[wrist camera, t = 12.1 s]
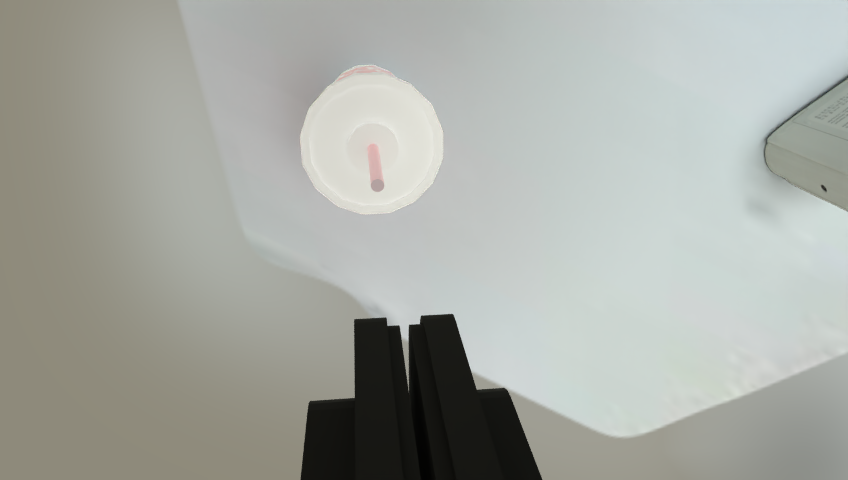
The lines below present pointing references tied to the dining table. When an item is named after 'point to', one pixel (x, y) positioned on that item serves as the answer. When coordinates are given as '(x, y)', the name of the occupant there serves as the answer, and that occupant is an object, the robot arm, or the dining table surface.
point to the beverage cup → (371, 142)
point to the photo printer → (815, 148)
